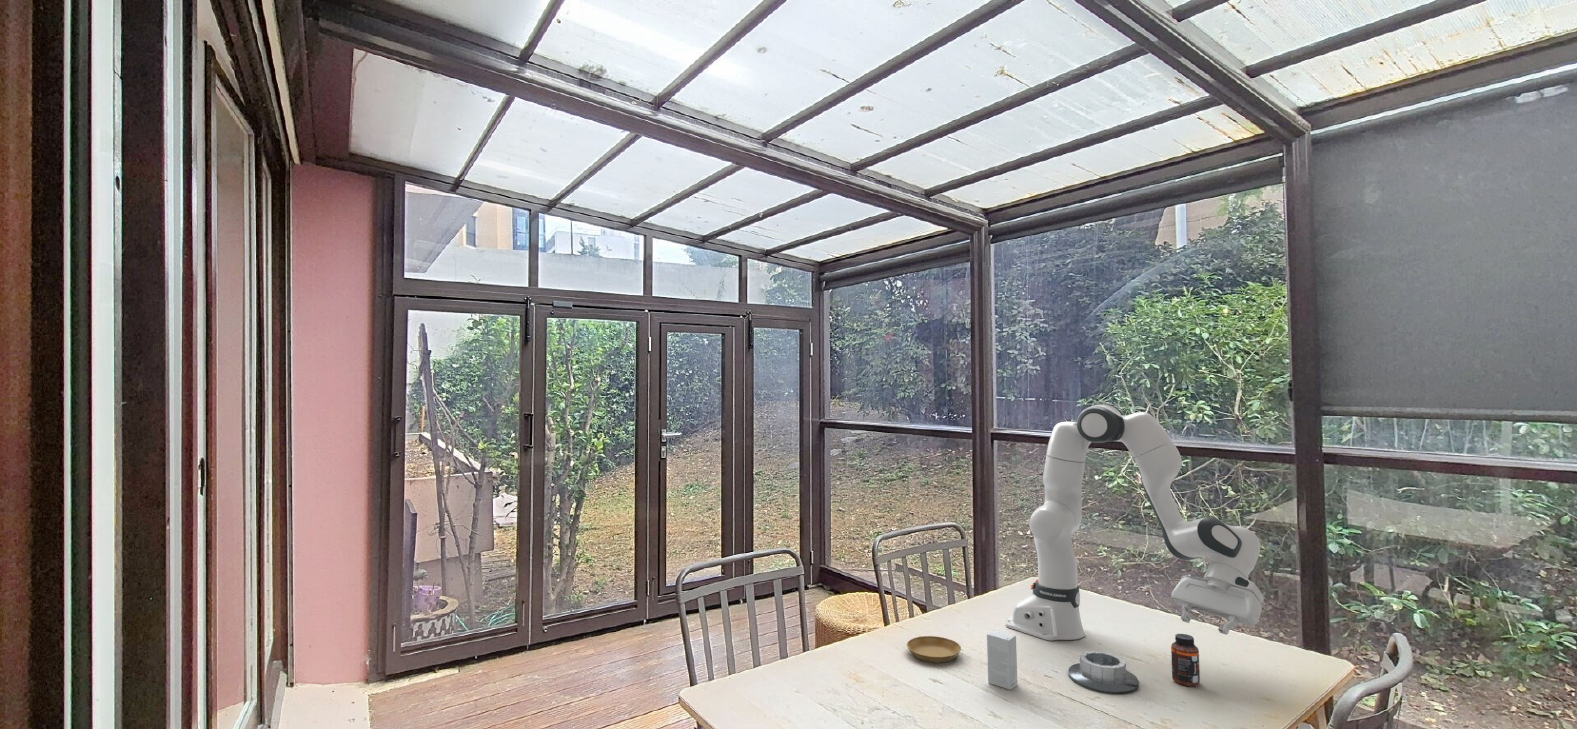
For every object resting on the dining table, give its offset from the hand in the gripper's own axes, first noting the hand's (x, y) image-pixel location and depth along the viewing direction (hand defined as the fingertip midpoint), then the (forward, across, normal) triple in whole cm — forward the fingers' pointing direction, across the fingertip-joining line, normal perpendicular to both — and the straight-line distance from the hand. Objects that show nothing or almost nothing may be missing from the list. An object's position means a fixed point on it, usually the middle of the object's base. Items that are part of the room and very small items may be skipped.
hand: (1203, 626), depth 166 cm
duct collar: (+26, -11, -9) cm, 30 cm away
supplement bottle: (+14, 0, +3) cm, 15 cm away
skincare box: (+43, -21, -26) cm, 55 cm away
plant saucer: (+46, -43, -28) cm, 69 cm away
